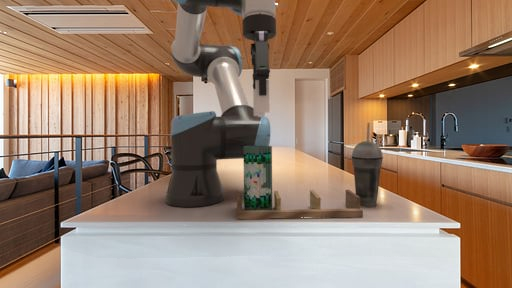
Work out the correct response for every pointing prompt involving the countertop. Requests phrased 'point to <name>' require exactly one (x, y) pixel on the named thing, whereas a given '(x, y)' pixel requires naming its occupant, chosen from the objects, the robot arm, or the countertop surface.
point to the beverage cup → (367, 170)
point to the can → (257, 177)
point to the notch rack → (315, 210)
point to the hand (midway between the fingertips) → (260, 114)
